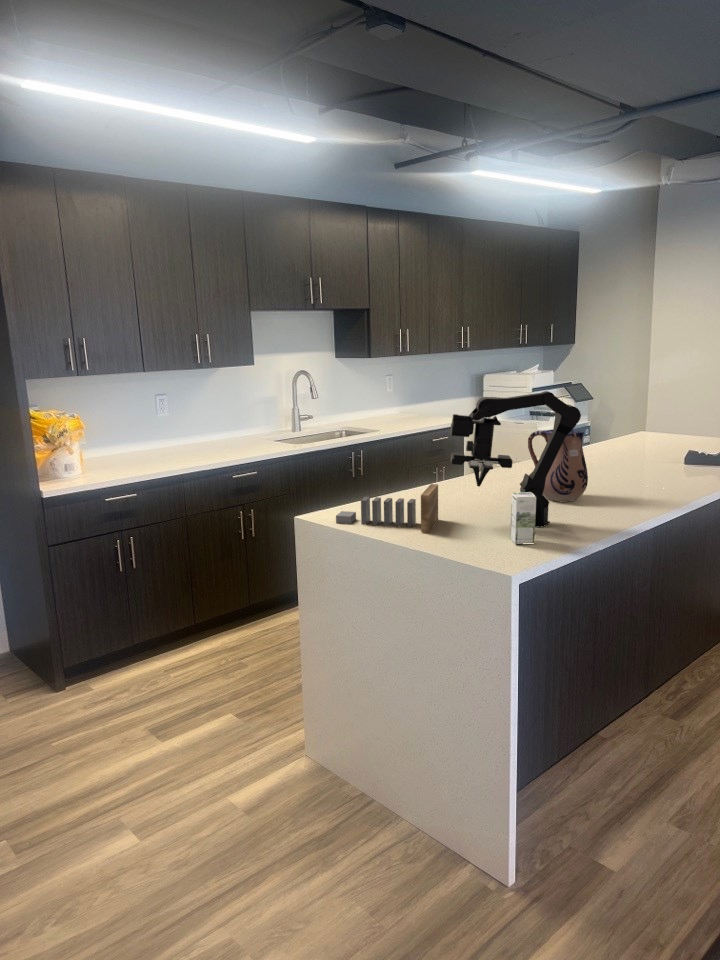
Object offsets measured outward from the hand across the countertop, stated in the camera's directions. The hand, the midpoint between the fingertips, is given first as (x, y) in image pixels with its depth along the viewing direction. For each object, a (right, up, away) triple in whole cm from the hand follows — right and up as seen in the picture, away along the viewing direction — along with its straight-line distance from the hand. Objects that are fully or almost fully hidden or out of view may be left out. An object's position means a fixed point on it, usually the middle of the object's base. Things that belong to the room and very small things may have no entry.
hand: (478, 486), depth 220 cm
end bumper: (-42, -12, +9) cm, 45 cm away
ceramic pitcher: (+34, -5, +32) cm, 47 cm away
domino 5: (-21, -12, +3) cm, 25 cm away
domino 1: (-36, -12, +7) cm, 38 cm away
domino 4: (-25, -12, +4) cm, 28 cm away
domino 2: (-32, -12, +6) cm, 35 cm away
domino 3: (-28, -12, +5) cm, 31 cm away
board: (-15, -13, +1) cm, 20 cm away
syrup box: (+10, -16, -18) cm, 26 cm away
